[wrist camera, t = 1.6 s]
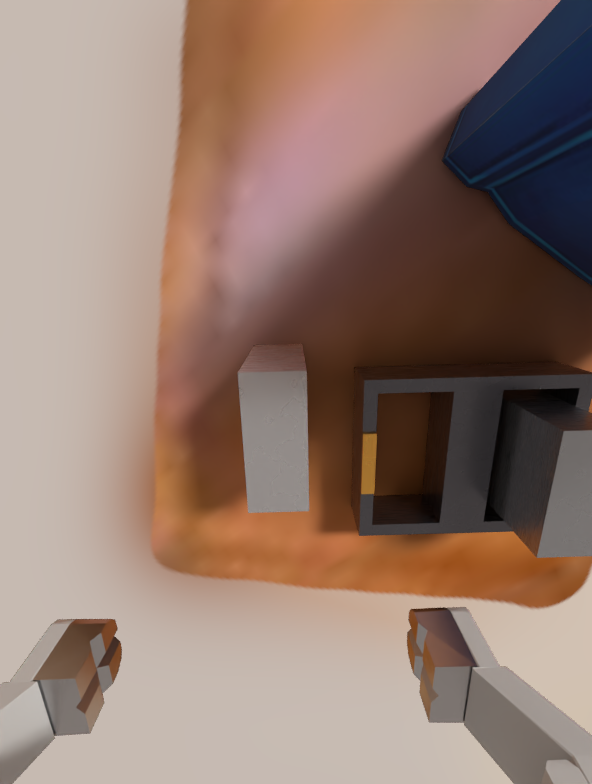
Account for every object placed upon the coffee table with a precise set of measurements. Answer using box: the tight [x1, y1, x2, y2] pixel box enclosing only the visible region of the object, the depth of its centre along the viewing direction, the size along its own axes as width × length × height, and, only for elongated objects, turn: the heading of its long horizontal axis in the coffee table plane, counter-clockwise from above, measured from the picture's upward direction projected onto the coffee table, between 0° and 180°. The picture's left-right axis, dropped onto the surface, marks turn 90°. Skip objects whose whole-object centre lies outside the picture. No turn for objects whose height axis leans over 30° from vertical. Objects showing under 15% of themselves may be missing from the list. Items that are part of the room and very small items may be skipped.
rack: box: [351, 362, 592, 558], centre depth 26 cm, size 13×16×9 cm
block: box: [238, 344, 309, 513], centre depth 25 cm, size 9×4×9 cm, turn 1°
